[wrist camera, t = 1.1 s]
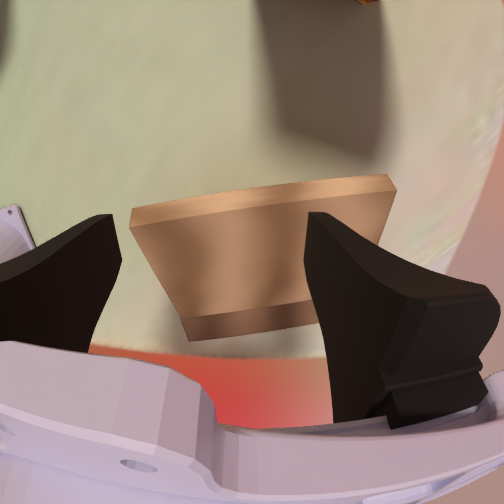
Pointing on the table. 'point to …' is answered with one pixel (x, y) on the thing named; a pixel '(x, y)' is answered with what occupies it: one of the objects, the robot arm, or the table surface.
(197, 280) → the oak click plank
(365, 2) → the candy box
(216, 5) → the table surface
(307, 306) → the laid walnut plank
